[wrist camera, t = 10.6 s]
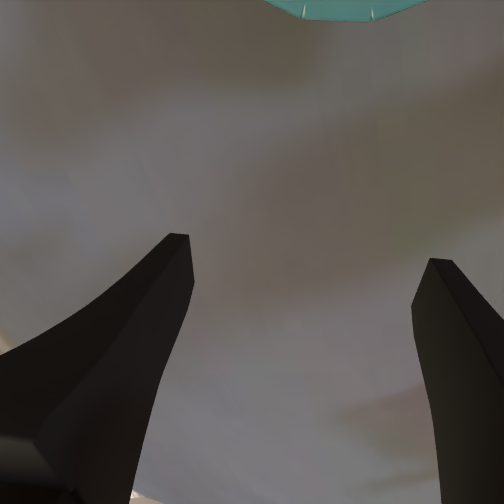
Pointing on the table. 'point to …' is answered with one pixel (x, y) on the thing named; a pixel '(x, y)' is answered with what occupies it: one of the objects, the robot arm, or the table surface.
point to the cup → (343, 9)
